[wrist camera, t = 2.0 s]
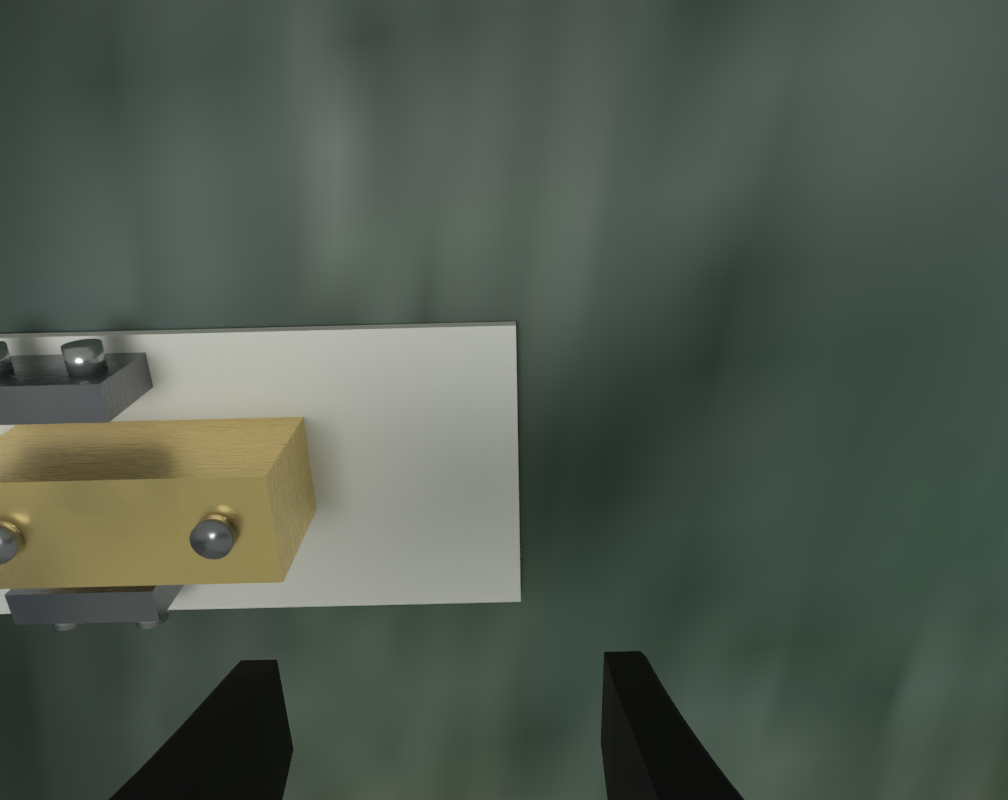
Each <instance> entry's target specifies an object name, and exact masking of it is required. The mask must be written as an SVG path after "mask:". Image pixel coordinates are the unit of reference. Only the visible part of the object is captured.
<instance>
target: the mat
mask: <svg viewBox="0 0 1008 800" xmlns="http://www.w3.org/2000/svg"><path fill="white" fill-rule="evenodd" d="M82 339H100V340H101V341H102V344H103V348H104V352H105V353H142V352H146V357H147V361H148V365H149V370H150V374H151V379H152V383H153V388H151V389H150V390H149V391H148V392H146V393H145V394H144V395H143V396H141V397H140V398H139V399H138V400H136V401H135V402H134V403H133V404H131V405H130V406H129V407H128V408H126V409H125V410H124V411H123V412H121V413H120V414H119V415H118V416H116V417H115V418H114V419H113V420H111V421H151V420H193V419H234V418H276V417H303V418H304V425H305V432H306V439H307V446H308V453H309V460H310V467H311V474H312V481H313V488H314V496H315V503H316V512H315V514H314V516H313V519H312V521H311V523H310V525H309V527H308V529H307V532H306V534H305V536H304V538H303V540H302V543H301V545H300V547H299V549H298V551H297V554H296V556H295V558H294V560H293V562H292V565H291V567H290V569H289V571H288V573H287V576H286V578H285V580H284V582H279V583H237V584H194V585H184V586H183V587H182V589H181V590H180V592H179V593H178V595H177V596H176V598H175V599H174V601H173V602H172V604H171V605H170V607H169V608H168V610H191V609H234V608H276V607H319V606H362V605H404V604H447V603H489V602H521V584H520V527H519V470H518V413H517V356H516V321H509V322H468V323H427V324H386V325H345V326H304V327H264V328H223V329H182V330H141V331H100V332H59V333H18V334H0V341H4V342H6V344H7V347H8V351H9V354H10V356H19V355H60V354H62V351H61V348H60V347H61V346H62V345H63V344H66V343H68V342H72V341H76V340H82ZM14 426H16V425H0V435H2V434H3V433H5V432H6V431H8V430H9V429H11V428H13V427H14ZM9 590H10V589H0V614H11V612H10V610H9V607H8V604H7V601H6V598H5V594H6V593H7V592H8V591H9Z"/></svg>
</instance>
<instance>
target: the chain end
mask: <svg viewBox="0 0 1008 800" xmlns="http://www.w3.org/2000/svg"><path fill="white" fill-rule="evenodd" d="M60 348H61V351H62V354H60V355H19V356H10V354H9V351H8V347H7V344H6V342H4V341H0V425H25V424H66V423H108V422H110V421H111V420H113V419H114V418H115V417H116V416H118V415H119V414H120V413H121V412H123V411H124V410H125V409H126V408H128V407H129V406H130V405H131V404H133V403H134V402H135V401H136V400H138V399H139V398H140V397H141V396H143V395H144V394H145V393H146V392H148V391H149V390H150V389H151V388H153V383H152V379H151V374H150V370H149V365H148V361H147V357H146V352H142V353H105V352H104V348H103V344H102V341H101V340H100V339H82V340H76V341H72V342H68V343H66V344H63V345H62V346H61V347H60ZM183 586H184V585H152V586H109V587H67V588H24V589H10V590H9V591H8V592H7V593H6V594H5V598H6V601H7V604H8V607H9V610H10V612H11V615H12V618H13V621H14V624H15V625H30V624H52V626H53V628H54V629H55V630H57V631H66V630H70V629H73V628H76V627H78V626H80V625H81V624H82V623H115V622H135V624H136V626H137V627H138V628H140V629H150V628H154V627H157V626H159V625H161V624H162V623H164V622H165V621H166V620H167V619H168V617H169V611H168V608H169V607H170V605H171V604H172V602H173V601H174V599H175V598H176V596H177V595H178V593H179V592H180V590H181V589H182V587H183Z"/></svg>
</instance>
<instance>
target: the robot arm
mask: <svg viewBox="0 0 1008 800" xmlns="http://www.w3.org/2000/svg"><path fill="white" fill-rule="evenodd" d="M601 748H602V756H603V765H604V773H605V781H606V789H607V797H608V800H744V799H743V798H742V796H741V795H740V794H739V793H738V791H737V790H736V789H735V788H734V786H733V785H732V784H731V783H730V781H729V780H728V779H727V778H726V776H725V775H724V774H723V772H722V771H721V770H720V768H719V767H718V766H717V764H716V763H715V762H714V761H713V759H712V758H711V756H710V755H709V754H708V752H707V751H706V749H705V748H704V747H703V745H702V744H701V742H700V741H699V740H698V738H697V737H696V735H695V734H694V733H693V731H692V730H691V729H690V727H689V726H688V724H687V723H686V721H685V720H684V718H683V717H682V715H681V714H680V712H679V711H678V709H677V708H676V706H675V704H674V703H673V701H672V700H671V698H670V697H669V695H668V694H667V692H666V690H665V689H664V687H663V685H662V684H661V682H660V680H659V679H658V677H657V675H656V674H655V672H654V670H653V668H652V667H651V665H650V663H649V661H648V659H647V657H646V656H645V655H644V654H643V653H642V652H640V651H630V652H604V671H603V698H602V724H601ZM292 753H293V745H292V740H291V734H290V729H289V723H288V718H287V712H286V707H285V701H284V696H283V690H282V685H281V679H280V674H279V668H278V663H277V660H243V661H240V662H239V663H238V664H237V665H236V666H235V667H234V668H233V670H232V671H231V672H230V673H229V674H228V675H227V676H226V677H225V678H224V679H223V680H222V682H221V683H220V684H219V685H218V686H217V687H216V688H215V689H214V690H213V691H212V693H211V694H210V695H209V696H208V697H207V698H206V699H205V700H204V701H203V703H202V704H201V705H200V706H199V707H198V708H197V709H196V710H195V711H194V712H193V714H192V715H191V716H190V717H189V718H188V719H187V720H186V721H185V722H184V723H183V724H182V726H181V727H180V728H179V729H178V730H177V731H176V732H175V733H174V734H173V735H172V736H171V737H170V738H169V739H168V740H167V741H166V742H165V743H164V745H163V746H162V747H161V748H160V749H159V750H158V751H157V752H156V753H155V754H154V755H153V756H152V757H151V758H150V759H149V760H148V761H147V762H146V763H145V764H144V765H143V766H142V768H141V769H140V770H139V771H138V772H137V773H136V774H135V775H134V776H132V777H131V778H130V779H129V780H128V781H127V782H126V783H125V784H124V785H123V786H122V787H121V788H120V789H119V790H118V791H117V792H116V793H115V794H114V795H113V796H112V797H111V798H110V799H109V800H282V798H283V794H284V790H285V786H286V781H287V776H288V772H289V767H290V762H291V758H292Z"/></svg>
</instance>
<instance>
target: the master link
mask: <svg viewBox="0 0 1008 800" xmlns="http://www.w3.org/2000/svg"><path fill="white" fill-rule="evenodd" d="M315 512H316V503H315V496H314V488H313V481H312V474H311V467H310V460H309V453H308V446H307V439H306V432H305V425H304V418H303V417H276V418H234V419H193V420H151V421H110V422H108V423H66V424H25V425H16V426H14V427H13V428H11V429H9V430H8V431H6V432H5V433H3V434H2V435H0V589H24V588H67V587H109V586H152V585H194V584H237V583H279V582H284V580H285V578H286V576H287V573H288V571H289V569H290V567H291V565H292V562H293V560H294V558H295V556H296V554H297V551H298V549H299V547H300V545H301V543H302V540H303V538H304V536H305V534H306V532H307V529H308V527H309V525H310V523H311V521H312V519H313V516H314V514H315Z"/></svg>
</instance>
